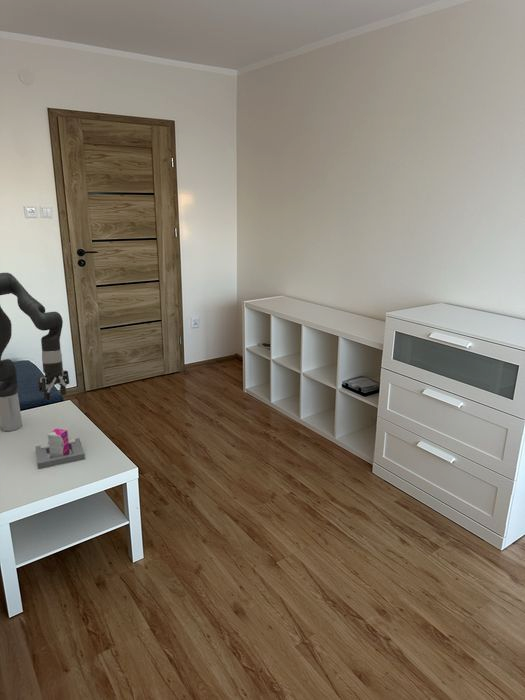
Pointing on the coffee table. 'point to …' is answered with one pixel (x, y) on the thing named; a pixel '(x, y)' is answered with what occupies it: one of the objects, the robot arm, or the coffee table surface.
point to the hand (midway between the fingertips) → (55, 398)
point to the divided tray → (45, 462)
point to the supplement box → (58, 443)
